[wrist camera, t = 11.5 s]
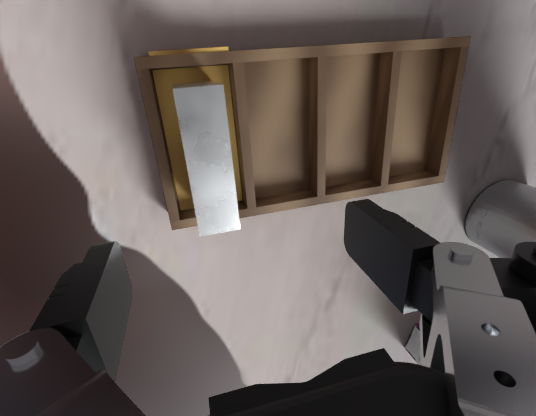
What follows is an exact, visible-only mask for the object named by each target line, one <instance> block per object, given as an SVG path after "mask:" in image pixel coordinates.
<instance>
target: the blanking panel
mask: <svg viewBox="0 0 536 416" xmlns="http://www.w3.org/2000/svg"><path fill="white" fill-rule="evenodd" d="M173 94H174V100H175V105H176V111H177V116H178V122H179V127H180V132H181V138H182V143H183V149H184V154H185V160H186V165H187V171H188V176H189V181H190V187H191V192H192V198H193V203H194V209H195V214H196V219H197V225H198V230H199V236H200V237H202V236H207V235H212V234H218V233H223V232H228V231H234V230H239V229H241V228H240V220H239V211H238V203H237V195H236V186H235V178H234V169H233V161H232V153H231V144H230V136H229V127H228V119H227V111H226V102H225V94H224V85H223V84H220V83H217V82H214V81H203V82H191V83H179V84H173Z"/></svg>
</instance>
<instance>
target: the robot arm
mask: <svg viewBox="0 0 536 416" xmlns="http://www.w3.org/2000/svg"><path fill="white" fill-rule="evenodd" d="M465 226H466V233H467V236H468V237H469V239H470V240H471V241H473V242H474V243H476V244H478V245H480V246H481V247H483V248H485V249H486V250H488V251H490V252H492V253H493V254H495V255H497V256H498V257H500V258H489V257H488V255H487V254H486V253H484V252H483V251H481V250H480V249H478V248H476V247H473V246H471V245H468V244H464V243H458V242H443V243H440V242H438V241H437V240H435V239H434V238H432V237H431V236H429V235H428V234H426V233H425V232H423V231H422V230H420V229H419V228H417V227H415V226H414V225H413V224H411V223H410V222H407V220H405V219H404V218H402V217H401V216H399V215H398V214H396V213H393V212H390V211H387V210H385V209H383V208H381V207H380V206H378V205H377V204H375V203H374V202H372V201H371V200H369V199H364V200H358V201H352V202H348V203H347V205H346V209H345V228H344V244H345V248H346V251H347V253H348V254H349V256H350V257H351V258H352V259H353V260H354V261H355V262H356V263H357V264H358V266H359V267H360V268H361V269H362V270H363V271H364V272H365V273H366V274H367V275H368V276H369V278H370V279H371V280H372V281H373V282H374V283H375V284H376V285H377V286H378V287H379V289H380V290H381V291H382V292H383V293H384V294H385V295H386V296H387V297H388V298H389V299H390V301H391V302H392V303H393V304H394V305H395V306H396V307H397V308H398V309H399V310H400V311H401V313H402V314H406V313H410V312H413V311H417V310H419V311H420V312H421V316H420V365H418V364H413V363H405V362H394V361H393V360H392V359H391V357H390V356H389V354H388V353H387V352H386V350H385V349H384V348H383V349H379V350H376V351H372V352H369V353H365V354H361V355H358V356H354V357H351V358H347V359H344V360H343V361H341V362H339V363H338V364H336V365H334V366H333V367H331V368H329V369H328V370H326V371H324V372H323V373H321V374H319V375H318V376H316V377H314V378H313V379H311V380H309V381H307V382H303V383H278V384H255V385H251V386H248V387H244V388H241V389H237V390H234V391H230V392H227V393H223V394H219V395H216V396H213V397H209V407H210V415H208V416H536V188H535V187H532V186H529V185H526V184H523V183H520V182H517V181H513V180H504V181H500V182H497V183H495V184H493V185H492V186H490V187H488V188H487V189H486V190H485V191H483V192H482V193H481V194H480V196H479V197H478V198H477V199H476V200H475V202H474V203H473V205H472V206H471V208H470V210H469V212H468V215H467V219H466V225H465ZM131 302H132V285H131V280H130V277H129V273H128V270H127V267H126V264H125V260H124V257H123V254H122V251H121V247H120V245H119V243H118V242H117V241H115V242H109V243H103V244H97V245H92V246H90V248H89V250H88V252H87V254H86V256H85V258H84V260H83V262H82V263H78V264H74V265H73V266H72V267H70V268H69V269H68V270H67V271H66V272H65V273H63V274H62V275H61V277H60V278H59V280H58V282H57V284H56V286H55V289H53V291H52V292H51V294H50V296H49V299H47V301H46V303H45V305H44V306H43V308H42V310H41V312H40V313H39V315H38V317H37V319H36V320H35V322H34V324H33V325H32V327H31V329H30V331H29V332H26V333H24V334H22V335H20V336H18V337H16V338H14V339H12V340H10V341H9V342H7V343H6V344H4V345H3V346H1V347H0V416H146V415H145V414H144V413H143V412H142V411H141V410H140V409H139V408H138V407H137V405H136V404H135V403H134V402H133V401H132V400H131V399H130V398H129V397H128V396H127V395H126V394H125V393H124V391H123V390H122V389H121V388H120V387H119V386H118V385H117V384H116V383H115V381H116V376H117V371H118V365H119V361H120V356H121V351H122V346H123V341H124V337H125V332H126V327H127V322H128V317H129V312H130V308H131Z"/></svg>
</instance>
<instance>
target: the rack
mask: <svg viewBox="0 0 536 416" xmlns="http://www.w3.org/2000/svg"><path fill="white" fill-rule="evenodd" d="M470 37H471V36H467V37H451V38H435V39H418V40H402V41H386V42H369V43H353V44H337V45H321V46H304V47H288V48H272V49H255V50H239V51H229V50H228V47H213V48H196V49H179V50H161V51H148V53H149V56H141V57H134V60H135V65H136V69H137V74H138V78H139V83H140V87H141V92H142V96H143V101H144V105H145V110H146V114H147V119H148V123H149V128H150V132H151V137H152V141H153V146H154V150H155V155H156V159H157V164H158V169H159V173H160V178H161V182H162V187H163V191H164V196H165V200H166V205H167V209H168V214H169V218H170V223H171V227H172V230H176V229H182V228H187V227H193V226H198V225H197V219H196V214H195V209H194V203H193V198H192V192H191V187H190V181H189V176H188V171H187V165H186V160H185V154H184V149H183V143H182V138H181V132H180V127H179V122H178V116H177V111H176V105H175V100H174V94H173V84H179V83H191V82H203V81H214V82H217V83H220V84H223V85H224V94H225V102H226V111H227V119H228V127H229V136H230V144H231V153H232V161H233V169H234V178H235V186H236V195H237V203H238V211H239V218H244V217H249V216H255V215H261V214H266V213H272V212H278V211H283V210H289V209H295V208H300V207H306V206H312V205H317V204H323V203H329V202H334V201H340V200H346V199H351V198H357V197H363V196H368V195H374V194H380V193H385V192H391V191H397V190H402V189H408V188H414V187H419V186H425V185H431V184H436V183H442V182H444V179H445V173H446V168H447V162H448V157H449V151H450V146H451V140H452V135H453V129H454V124H455V119H456V113H457V108H458V102H459V97H460V91H461V86H462V80H463V75H464V70H465V64H466V59H467V53H468V48H469V42H470Z"/></svg>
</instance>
